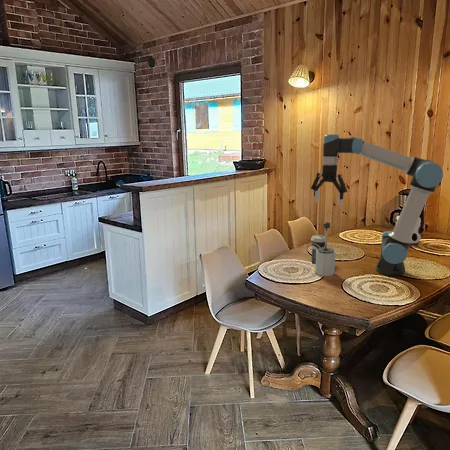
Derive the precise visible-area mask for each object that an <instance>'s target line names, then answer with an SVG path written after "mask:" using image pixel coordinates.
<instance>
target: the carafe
mask: <svg viewBox="0 0 450 450" xmlns="http://www.w3.org/2000/svg"><path fill="white" fill-rule="evenodd" d="M315 252H316V261H315ZM324 253H326V254H324ZM335 263H336V250H334V248H331V247H327V251H325V247H322V248H318V249H312V248H311V264H312V265H315V267H314V269H315V271H314V272H315V274H316V273H317V274H318V275H317V274H316V275H317V276H321V275H322V276H321V277H332V276H333V275H335V270H336V269H335V267H336V264H335Z"/></svg>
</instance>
